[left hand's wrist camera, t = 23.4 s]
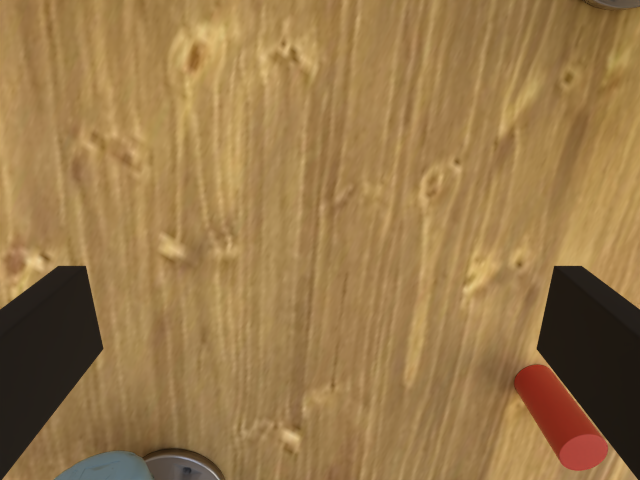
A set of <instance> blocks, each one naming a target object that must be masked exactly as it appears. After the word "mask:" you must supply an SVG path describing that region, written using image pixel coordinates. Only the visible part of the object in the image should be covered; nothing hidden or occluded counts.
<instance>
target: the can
mask: <svg viewBox="0 0 640 480" xmlns="http://www.w3.org/2000/svg"><path fill="white" fill-rule="evenodd" d="M514 385H515V389H516V390H517V392H518V394H519V395H520V397H521V398H522V400H523V402H524V403H525V405H526V407H527V408H528V410H529V412H530V413H531V415H532V416H533V418H534V420H535V421H536V423H537V425H538V426H539V428H540V429H541V431H542V433H543V434H544V436H545V438H546V439H547V441H548V443H549V444H550V446H551V447H552V449H553V451H554V452H555V454H556V456H557V457H558V459H559V460H560V462H561V464H562V465H563V466H564V467H566V468H568V469H571V470H576V471H581V470H587V469H590V468H593V467H595V466H596V465H598V464H599V463H601V462H602V461H603V460H604V458H605V457H606V455H607V452H608V445H607V443H606V441H605V440H604V439H603V437H602V436H601V435H600V433H599V432H598V431H597V429H596V428H595V427H594V426H593V424H592V423H591V422H590V420H589V419H588V418H587V416H586V415H585V414H584V413H583V411H582V410H581V409H580V407H579V406H578V405H577V403H576V402H575V401H574V400H573V398H572V397H571V396H570V394H569V393H568V392H567V390H566V389H565V388H564V387H563V385H562V384H561V383H560V381H559V380H558V379H557V377H556V376H555V375H554V374H553V372H552V371H551V370H550V369H549V368H548V367H546V366H543V365H531V366H528V367H526V368H524V369H522V370H521V371H520V372H519V373H518V374H517V376H516V378H515V381H514Z"/></svg>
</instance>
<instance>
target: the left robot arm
mask: <svg viewBox="0 0 640 480" xmlns="http://www.w3.org/2000/svg"><path fill="white" fill-rule="evenodd" d="M583 1H584V2H586V3H588V4H590V5H592V6H594V7H597V8H601V9H607V10H624V9H630V8H635V7H639V6H640V0H583ZM102 350H103V345H102V340H101V335H100V331H99V326H98V321H97V317H96V312H95V307H94V302H93V298H92V293H91V288H90V284H89V279H88V274H87V270H86V266H58V267H56V268H55V269H54V270H52V271H51V272H50V273H48V274H47V275H46V276H44V277H43V278H42V279H40V280H39V281H38V282H36V283H35V284H34V285H32V286H31V287H30V288H28V289H27V290H26V291H24V292H23V293H22V294H20V295H19V296H18V297H16V298H15V299H14V300H12V301H11V302H10V303H8V304H7V305H6V306H4V307H3V308H2V309H0V480H2V479H3V478H4V476H5V475H6V474H7V472H8V471H9V470H10V469H11V467H12V466H13V465H14V463H15V462H16V461H17V459H18V458H19V457H20V456H21V454H22V453H23V452H24V450H25V449H26V448H27V447H28V445H29V444H30V443H31V441H32V440H33V439H34V438H35V436H36V435H37V434H38V432H39V431H40V430H41V429H42V427H43V426H44V425H45V423H46V422H47V421H48V420H49V418H50V417H51V416H52V414H53V413H54V412H55V411H56V409H57V408H58V407H59V405H60V404H61V403H62V402H63V400H64V399H65V398H66V396H67V395H68V394H69V392H70V391H71V390H72V389H73V387H74V386H75V385H76V383H77V382H78V381H79V380H80V378H81V377H82V376H83V374H84V373H85V372H86V371H87V369H88V368H89V367H90V365H91V364H92V363H93V362H94V360H95V359H96V358H97V356H98V355H99V354H100V353H101V351H102ZM537 350H538V351H539V353H540V354H541V355H542V356H543V358H544V359H545V360H546V362H547V363H548V364H549V365H550V367H551V368H552V369H553V371H554V372H555V373H556V374H557V376H558V377H559V378H560V380H561V381H562V382H563V383H564V385H565V386H566V387H567V389H568V390H569V391H570V392H571V394H572V395H573V396H574V398H575V399H576V400H577V402H578V403H579V404H580V405H581V407H582V408H583V409H584V411H585V412H586V413H587V414H588V416H589V417H590V418H591V420H592V421H593V422H594V423H595V425H596V426H597V427H598V429H599V430H600V431H601V432H602V434H603V435H604V436H605V438H606V439H607V440H608V441H609V443H610V444H611V445H612V447H613V448H614V449H615V450H616V452H617V453H618V454H619V456H620V457H621V458H622V459H623V461H624V462H625V463H626V465H627V466H628V467H629V469H630V470H631V471H632V472H633V474H634V475H635V476H636V478H637V479H638V480H640V309H638V308H637V307H636V306H634V305H633V304H632V303H630V302H629V301H628V300H626V299H625V298H624V297H622V296H621V295H620V294H618V293H617V292H616V291H614V290H613V289H612V288H610V287H609V286H608V285H606V284H605V283H604V282H602V281H601V280H600V279H598V278H597V277H596V276H594V275H593V274H592V273H590V272H589V271H588V270H586V269H585V268H584V267H582V266H554V270H553V274H552V279H551V284H550V288H549V293H548V298H547V302H546V307H545V312H544V317H543V321H542V326H541V331H540V335H539V340H538V345H537Z"/></svg>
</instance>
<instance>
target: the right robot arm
mask: <svg viewBox="0 0 640 480" xmlns="http://www.w3.org/2000/svg"><path fill="white" fill-rule="evenodd" d="M54 480H225V479H224V476H223V474H222V473H221V471H220V470H219V469H218V467H217V466H216V465H215V464H214V463H212V462H211V461H210V460H208V459H207V458H205V457H203V456H201V455H199V454H197V453H194V452H190V451H186V450H180V449H166V450H160V451H156V452H153V453H150V454H148V455H146V456H145V457H143V458H141V457H140V456H138V455H136V454H135V453H133V452H129V451H109V452H105V453H101V454H97V455H94V456H91V457H89V458H87V459H84V460H82V461H80V462H78V463H77V464H75V465H74V466H72V467H71V468H69V469H67V470H65V471H64V472H62V473H61V474H60V475H59V476H57V477H56V478H55V479H54Z"/></svg>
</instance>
